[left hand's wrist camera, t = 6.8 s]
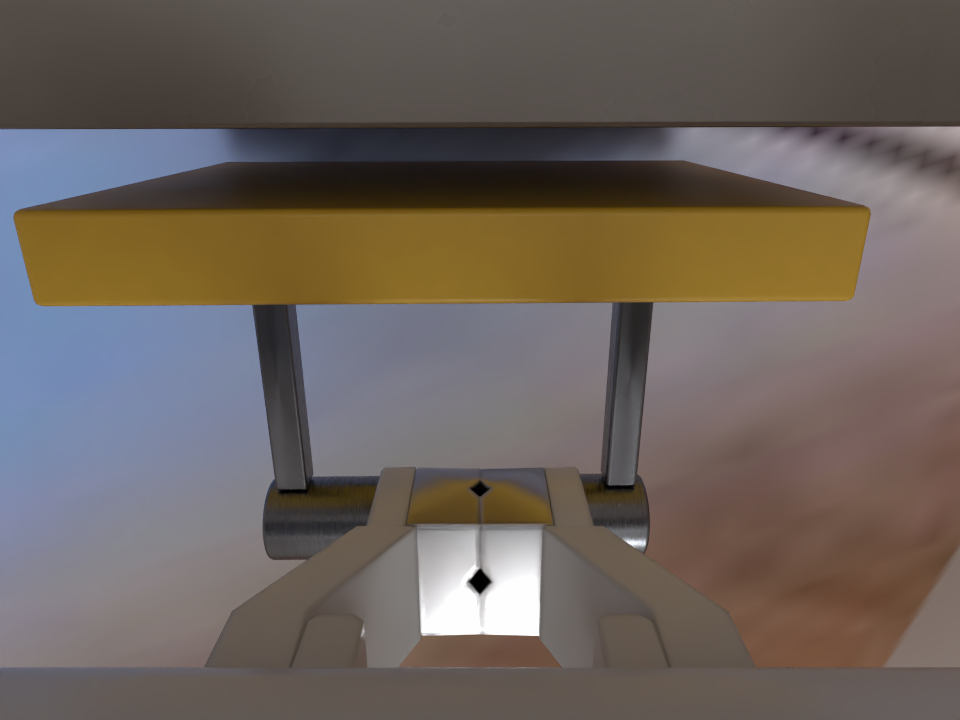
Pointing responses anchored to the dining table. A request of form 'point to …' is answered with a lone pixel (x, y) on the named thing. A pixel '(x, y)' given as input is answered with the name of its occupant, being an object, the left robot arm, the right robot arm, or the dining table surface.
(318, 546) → the drawer
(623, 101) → the grey zigzag patterned box
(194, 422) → the dining table surface
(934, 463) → the dining table surface
